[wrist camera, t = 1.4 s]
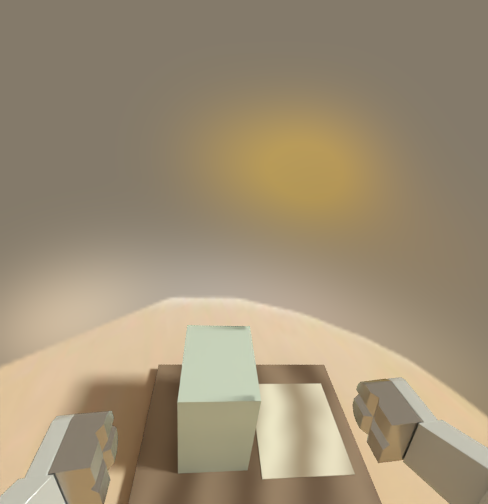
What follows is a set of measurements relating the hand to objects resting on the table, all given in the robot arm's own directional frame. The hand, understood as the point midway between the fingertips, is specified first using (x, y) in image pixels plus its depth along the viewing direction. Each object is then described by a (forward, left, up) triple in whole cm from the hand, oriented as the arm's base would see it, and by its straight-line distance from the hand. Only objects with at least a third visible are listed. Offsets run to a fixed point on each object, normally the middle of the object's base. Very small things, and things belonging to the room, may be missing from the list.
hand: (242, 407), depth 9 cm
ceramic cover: (0, +12, -21) cm, 25 cm away
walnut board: (+4, +12, -22) cm, 26 cm away
